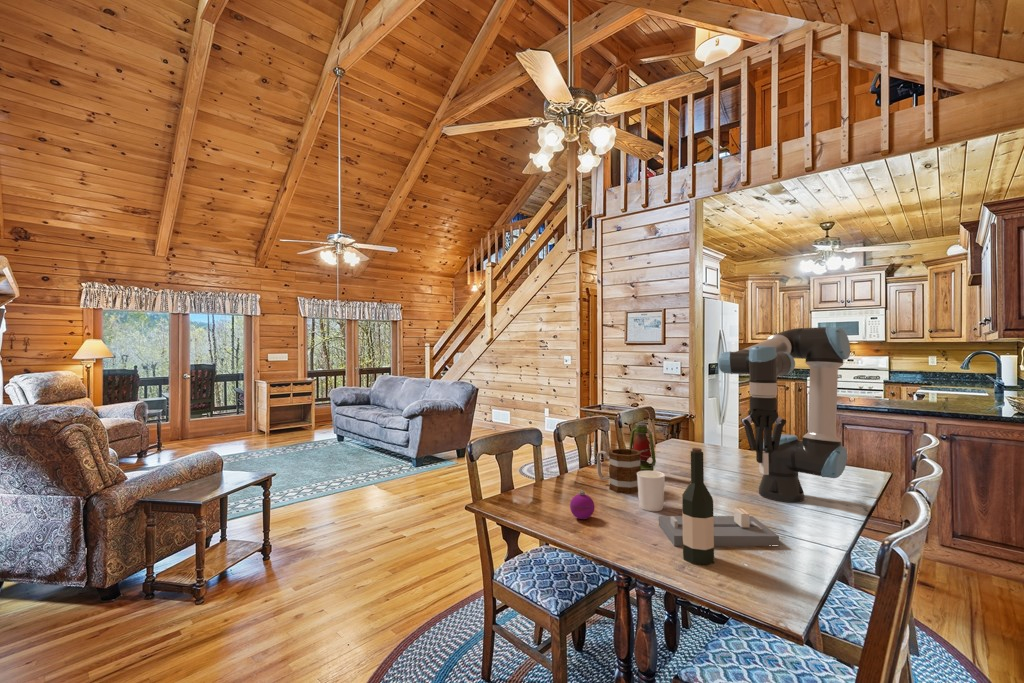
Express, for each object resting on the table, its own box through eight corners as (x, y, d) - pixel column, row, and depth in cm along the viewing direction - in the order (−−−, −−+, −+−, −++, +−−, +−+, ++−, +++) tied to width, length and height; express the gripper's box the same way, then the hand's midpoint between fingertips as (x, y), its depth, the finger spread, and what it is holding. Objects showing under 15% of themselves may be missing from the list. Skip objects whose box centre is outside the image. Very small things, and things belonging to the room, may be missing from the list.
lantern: (622, 474, 213) (621, 408, 214) (634, 470, 221) (634, 405, 221) (649, 480, 203) (649, 411, 204) (662, 475, 211) (661, 408, 211)
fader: (741, 521, 147) (741, 507, 147) (749, 527, 142) (749, 513, 142) (734, 521, 147) (733, 507, 147) (741, 527, 142) (741, 513, 142)
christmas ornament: (567, 521, 158) (567, 491, 158) (573, 513, 165) (573, 484, 165) (591, 524, 155) (591, 493, 155) (596, 515, 162) (596, 486, 162)
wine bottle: (676, 552, 133) (675, 446, 133) (705, 551, 134) (704, 445, 134) (690, 566, 125) (689, 452, 125) (720, 565, 126) (719, 451, 126)
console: (752, 525, 153) (752, 509, 153) (779, 546, 137) (778, 529, 137) (658, 525, 153) (658, 509, 153) (674, 546, 137) (674, 528, 137)
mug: (648, 487, 193) (647, 451, 194) (633, 496, 183) (632, 457, 183) (605, 479, 206) (604, 445, 206) (589, 486, 196) (588, 450, 196)
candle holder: (666, 513, 165) (666, 478, 165) (637, 511, 167) (637, 477, 167) (663, 503, 174) (663, 471, 174) (636, 502, 176) (635, 469, 176)
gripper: (778, 395, 148) (778, 470, 148) (736, 395, 149) (736, 470, 149) (791, 397, 141) (792, 476, 141) (747, 397, 141) (748, 476, 141)
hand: (763, 473), depth 145 cm, fingers closed
